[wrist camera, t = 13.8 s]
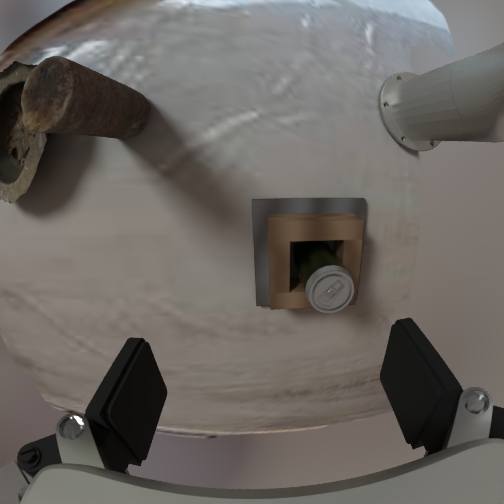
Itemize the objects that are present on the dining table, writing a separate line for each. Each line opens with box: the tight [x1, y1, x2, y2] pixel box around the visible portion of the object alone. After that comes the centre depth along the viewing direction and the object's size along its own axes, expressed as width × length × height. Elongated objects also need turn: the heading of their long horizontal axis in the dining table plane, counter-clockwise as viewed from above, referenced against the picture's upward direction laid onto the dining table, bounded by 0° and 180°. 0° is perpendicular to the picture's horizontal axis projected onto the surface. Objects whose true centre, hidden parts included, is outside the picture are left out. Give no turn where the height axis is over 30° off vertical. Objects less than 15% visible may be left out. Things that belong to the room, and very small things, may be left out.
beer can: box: [293, 241, 354, 313], centre depth 33 cm, size 5×5×12 cm
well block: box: [252, 198, 366, 310], centre depth 37 cm, size 16×16×6 cm
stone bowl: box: [0, 61, 49, 204], centre depth 29 cm, size 25×25×9 cm
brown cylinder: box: [21, 56, 149, 139], centre depth 24 cm, size 8×7×20 cm
